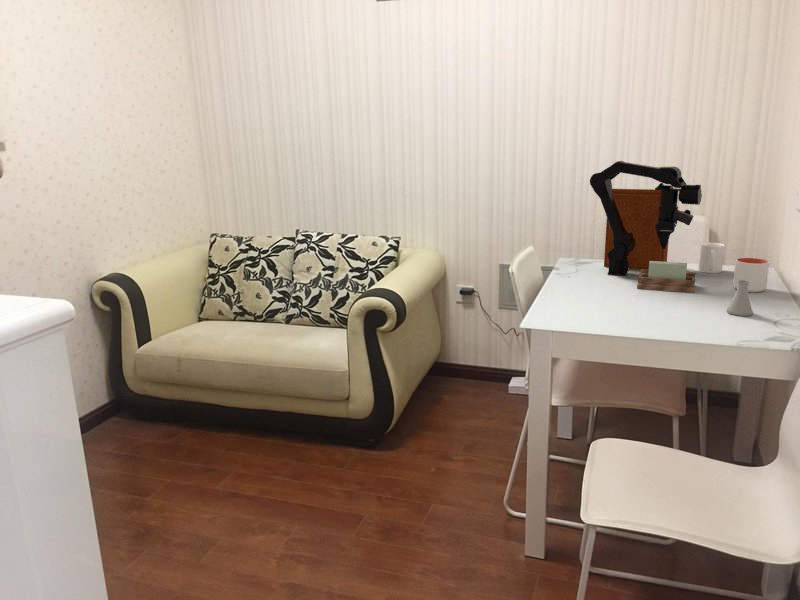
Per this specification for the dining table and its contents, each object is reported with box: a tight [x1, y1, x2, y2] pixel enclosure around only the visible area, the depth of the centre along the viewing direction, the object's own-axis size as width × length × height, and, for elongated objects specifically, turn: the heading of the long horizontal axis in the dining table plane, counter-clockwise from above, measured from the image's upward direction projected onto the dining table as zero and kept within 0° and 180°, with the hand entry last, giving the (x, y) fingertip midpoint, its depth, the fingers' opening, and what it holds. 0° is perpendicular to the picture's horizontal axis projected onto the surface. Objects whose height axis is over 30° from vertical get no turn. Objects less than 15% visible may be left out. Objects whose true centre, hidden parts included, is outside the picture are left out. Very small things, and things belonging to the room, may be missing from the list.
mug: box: [698, 242, 726, 274], centre depth 251 cm, size 12×8×10 cm
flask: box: [726, 280, 754, 317], centre depth 198 cm, size 7×7×10 cm
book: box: [603, 188, 670, 270], centre depth 260 cm, size 23×8×30 cm, turn 67°
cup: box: [732, 257, 770, 293], centre depth 225 cm, size 10×10×10 cm
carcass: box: [636, 269, 697, 294], centre depth 231 cm, size 18×11×4 cm, turn 66°
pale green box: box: [648, 261, 688, 280], centre depth 230 cm, size 12×4×7 cm, turn 66°
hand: (664, 246), depth 240 cm, fingers open, 9 cm apart
